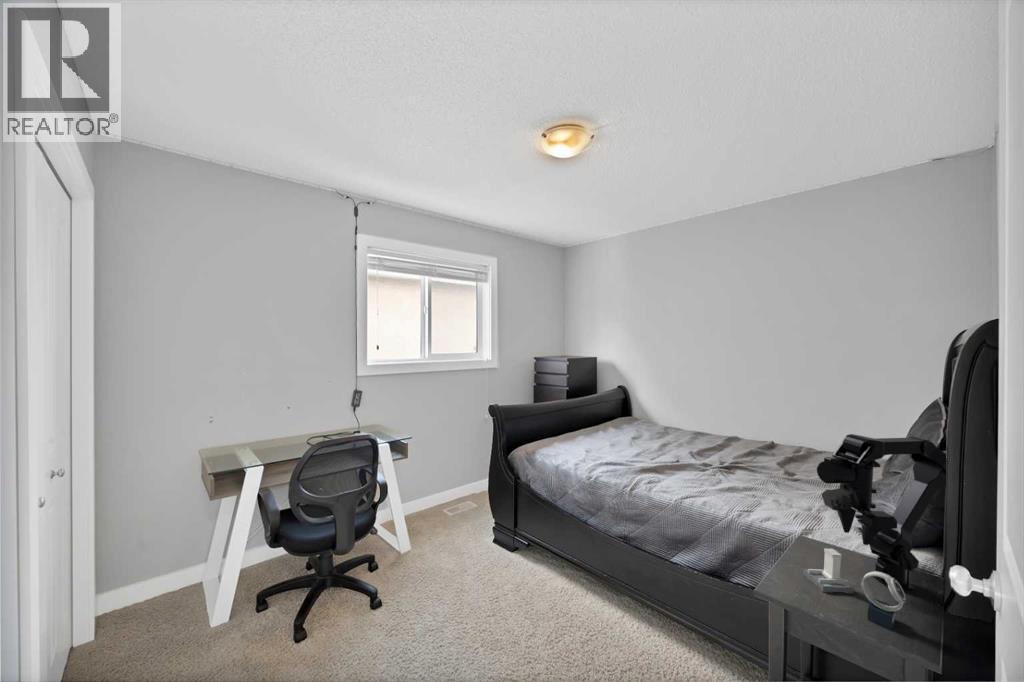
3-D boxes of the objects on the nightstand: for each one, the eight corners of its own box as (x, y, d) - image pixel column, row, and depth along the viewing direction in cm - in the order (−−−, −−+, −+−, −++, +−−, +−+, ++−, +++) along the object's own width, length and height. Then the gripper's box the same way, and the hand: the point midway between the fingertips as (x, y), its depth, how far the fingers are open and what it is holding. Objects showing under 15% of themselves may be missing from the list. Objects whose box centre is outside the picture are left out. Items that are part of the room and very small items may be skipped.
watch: (903, 634, 96) (905, 587, 95) (858, 615, 102) (860, 571, 101) (906, 623, 99) (908, 578, 99) (862, 606, 105) (864, 563, 105)
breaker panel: (831, 575, 118) (832, 567, 118) (853, 593, 110) (854, 584, 110) (803, 574, 119) (803, 565, 119) (822, 592, 111) (823, 582, 111)
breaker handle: (832, 574, 116) (834, 548, 116) (841, 581, 113) (842, 555, 113) (821, 574, 116) (823, 548, 116) (830, 580, 113) (831, 554, 113)
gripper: (805, 469, 123) (803, 521, 124) (855, 494, 105) (852, 555, 105) (844, 470, 123) (841, 523, 123) (900, 496, 104) (897, 557, 105)
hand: (855, 538), depth 114 cm, fingers open, 6 cm apart
